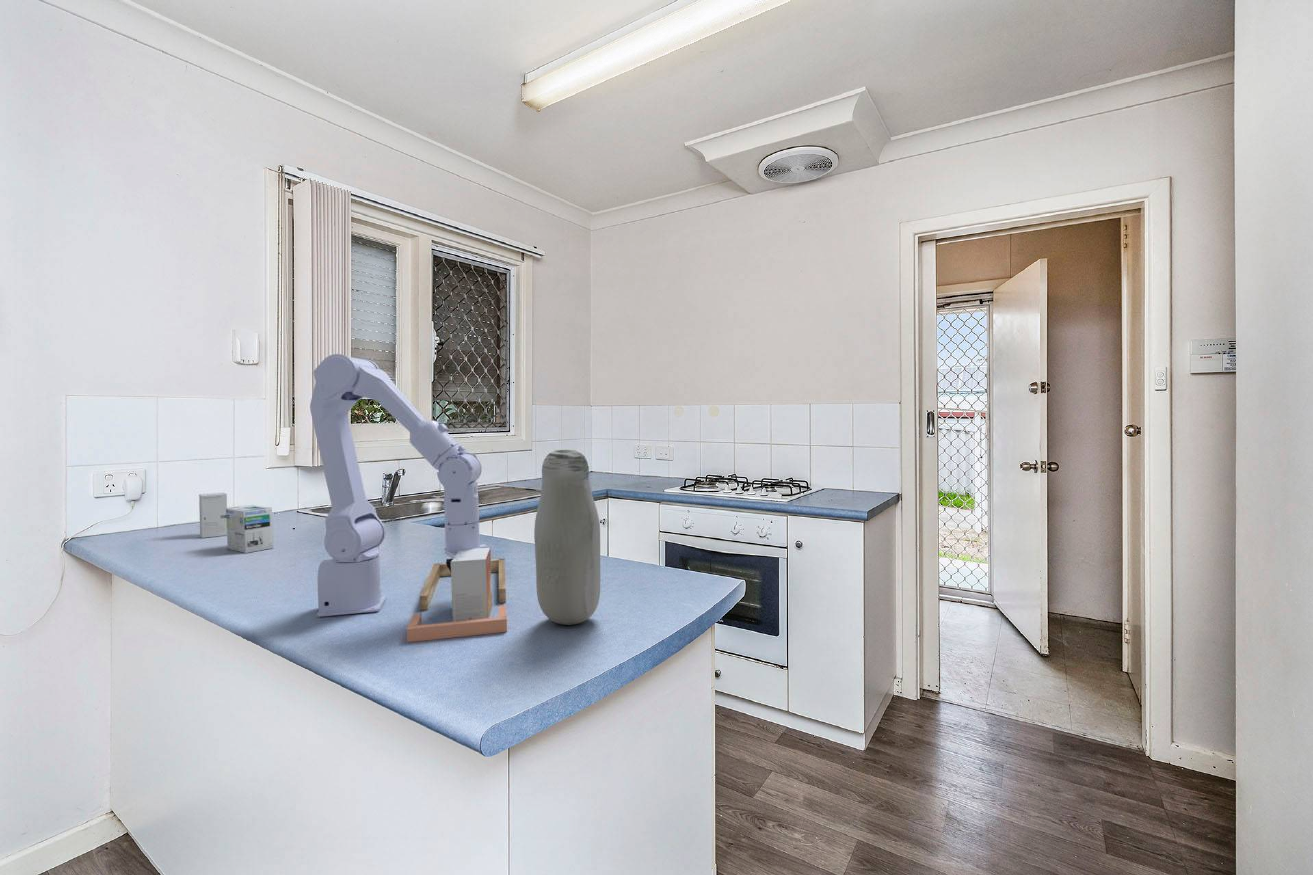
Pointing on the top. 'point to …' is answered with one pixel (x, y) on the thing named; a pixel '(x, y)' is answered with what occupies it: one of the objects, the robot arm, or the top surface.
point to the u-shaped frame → (443, 570)
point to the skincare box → (213, 514)
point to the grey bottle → (567, 540)
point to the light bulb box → (249, 528)
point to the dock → (455, 627)
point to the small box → (471, 584)
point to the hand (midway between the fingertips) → (464, 598)
